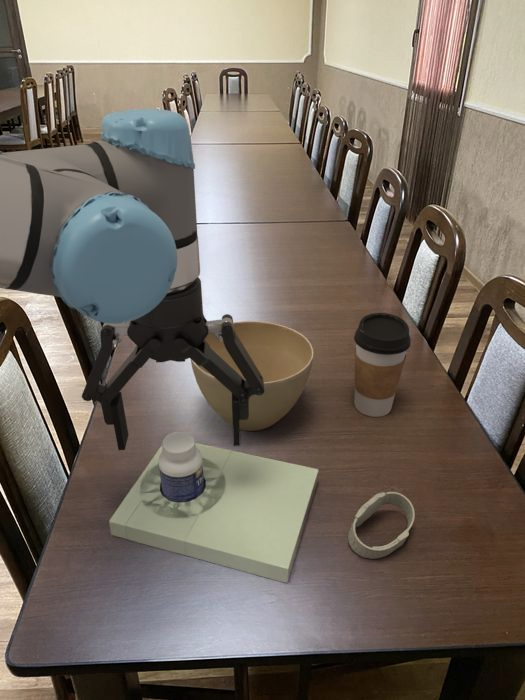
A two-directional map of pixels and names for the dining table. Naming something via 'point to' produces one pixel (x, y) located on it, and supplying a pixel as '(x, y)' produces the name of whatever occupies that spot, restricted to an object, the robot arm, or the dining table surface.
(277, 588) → the dining table surface
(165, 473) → the pill bottle
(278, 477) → the pale green flat block
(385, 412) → the coffee cup
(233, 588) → the dining table surface
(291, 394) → the tan round bowl
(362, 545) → the wristwatch
